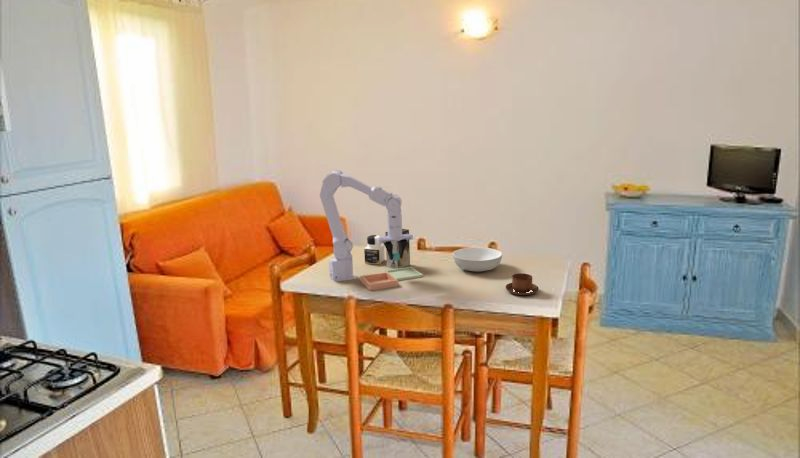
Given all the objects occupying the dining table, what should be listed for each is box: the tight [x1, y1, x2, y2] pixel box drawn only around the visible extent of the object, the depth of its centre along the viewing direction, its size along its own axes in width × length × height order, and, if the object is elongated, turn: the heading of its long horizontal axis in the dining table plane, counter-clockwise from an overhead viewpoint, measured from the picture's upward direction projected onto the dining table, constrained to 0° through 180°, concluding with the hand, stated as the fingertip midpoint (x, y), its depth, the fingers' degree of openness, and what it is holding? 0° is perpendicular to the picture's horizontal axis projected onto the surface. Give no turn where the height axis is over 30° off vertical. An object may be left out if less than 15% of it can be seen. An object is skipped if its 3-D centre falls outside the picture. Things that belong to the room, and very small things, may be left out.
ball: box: [393, 252, 400, 261], centre depth 222 cm, size 4×4×4 cm
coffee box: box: [385, 228, 411, 269], centre depth 238 cm, size 9×6×16 cm
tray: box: [384, 266, 424, 282], centre depth 227 cm, size 12×12×1 cm
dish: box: [359, 271, 399, 291], centre depth 217 cm, size 12×12×3 cm
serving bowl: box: [452, 246, 503, 273], centre depth 234 cm, size 21×21×7 cm
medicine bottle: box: [364, 234, 386, 265], centre depth 246 cm, size 7×7×12 cm
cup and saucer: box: [505, 273, 539, 296], centre depth 205 cm, size 12×12×6 cm
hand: (395, 258), depth 222 cm, fingers closed on ball, 4 cm apart
